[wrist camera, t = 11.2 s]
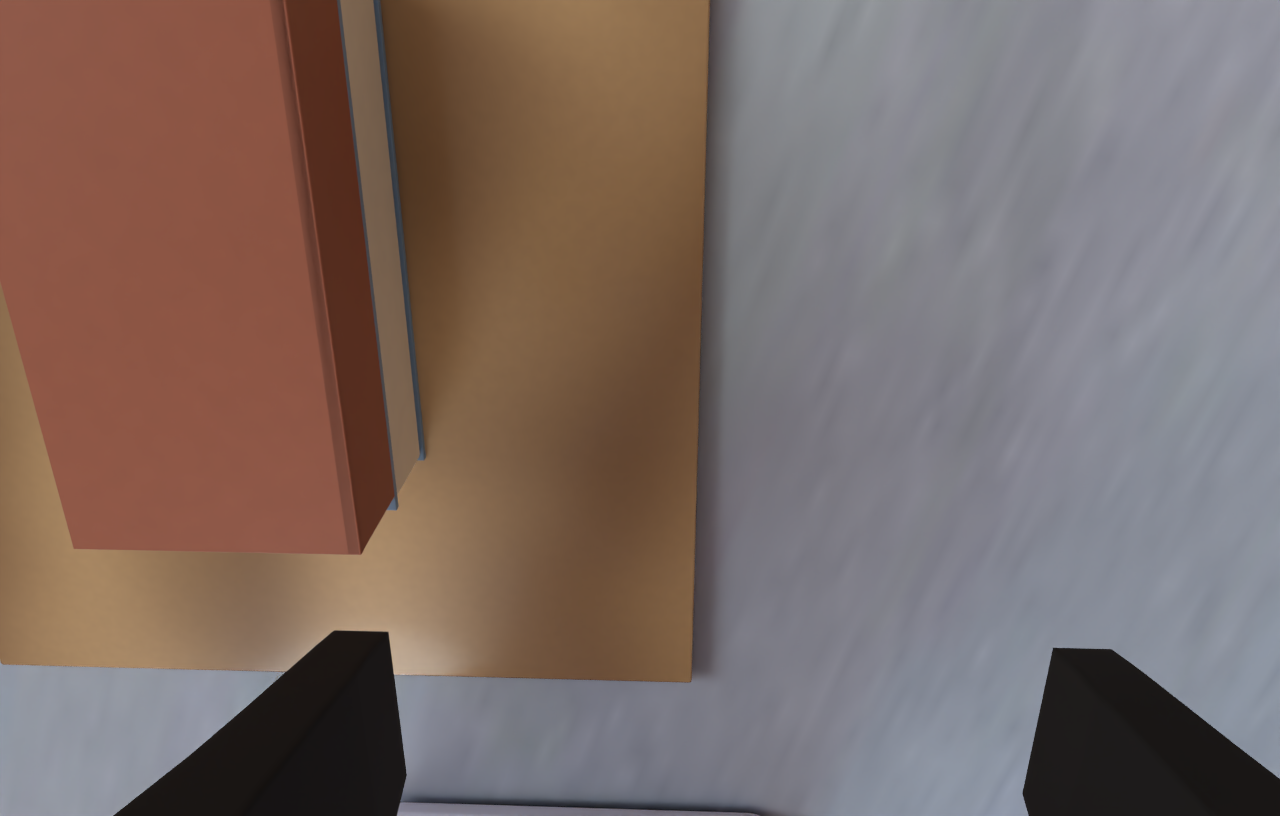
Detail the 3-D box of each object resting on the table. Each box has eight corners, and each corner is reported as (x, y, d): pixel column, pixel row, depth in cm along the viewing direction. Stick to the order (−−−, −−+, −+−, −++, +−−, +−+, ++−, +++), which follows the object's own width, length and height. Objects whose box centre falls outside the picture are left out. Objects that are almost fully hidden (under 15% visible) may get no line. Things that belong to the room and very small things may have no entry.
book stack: (186, 453, 20) (65, 564, 16) (85, -25, 16) (-103, -33, 12) (426, 457, 19) (363, 571, 16) (377, -26, 16) (280, -34, 12)
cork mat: (11, 654, 22) (0, 665, 22) (-331, -415, 14) (-358, -426, 14) (691, 672, 22) (691, 683, 21) (721, -432, 14) (722, -444, 14)
